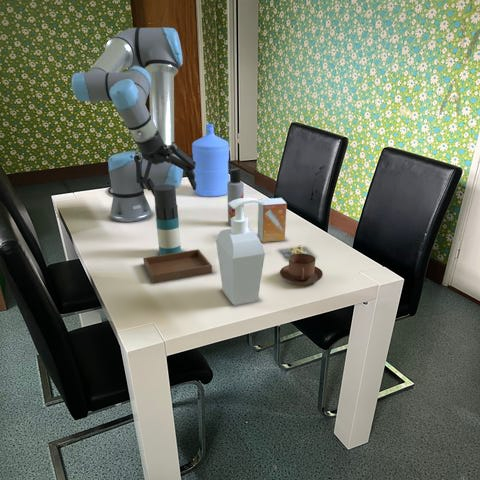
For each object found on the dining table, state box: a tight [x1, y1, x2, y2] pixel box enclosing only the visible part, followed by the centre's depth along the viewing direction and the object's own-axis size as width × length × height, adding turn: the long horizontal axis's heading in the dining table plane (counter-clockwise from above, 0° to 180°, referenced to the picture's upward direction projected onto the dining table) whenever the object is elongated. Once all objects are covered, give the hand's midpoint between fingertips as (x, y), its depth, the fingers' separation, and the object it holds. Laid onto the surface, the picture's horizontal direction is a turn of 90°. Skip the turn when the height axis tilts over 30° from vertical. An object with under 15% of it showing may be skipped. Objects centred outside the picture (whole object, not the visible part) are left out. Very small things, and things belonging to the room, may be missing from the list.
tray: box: [142, 248, 213, 284], centre depth 137 cm, size 13×17×2 cm
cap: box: [153, 185, 179, 220], centre depth 140 cm, size 6×6×9 cm
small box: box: [257, 197, 288, 243], centre depth 155 cm, size 8×6×13 cm
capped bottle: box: [155, 216, 182, 255], centre depth 144 cm, size 7×7×15 cm
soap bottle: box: [215, 197, 266, 306], centre depth 117 cm, size 12×10×26 cm
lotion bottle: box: [226, 167, 244, 227], centre depth 165 cm, size 6×6×20 cm
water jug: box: [191, 123, 230, 198], centre depth 198 cm, size 16×16×28 cm
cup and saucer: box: [279, 253, 324, 285], centre depth 130 cm, size 12×12×6 cm
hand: (176, 192), depth 153 cm, fingers open, 13 cm apart
